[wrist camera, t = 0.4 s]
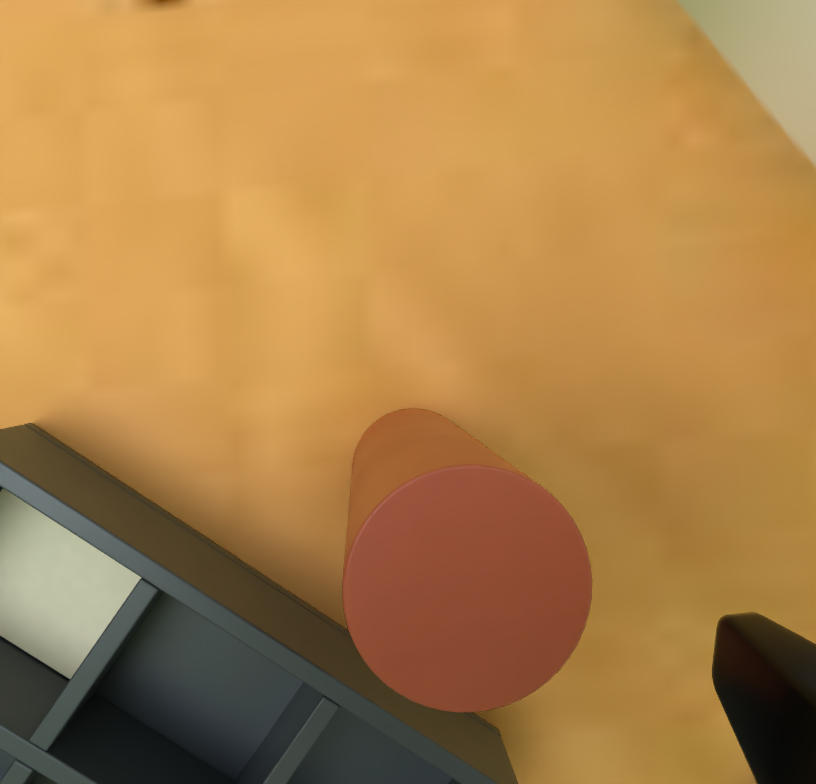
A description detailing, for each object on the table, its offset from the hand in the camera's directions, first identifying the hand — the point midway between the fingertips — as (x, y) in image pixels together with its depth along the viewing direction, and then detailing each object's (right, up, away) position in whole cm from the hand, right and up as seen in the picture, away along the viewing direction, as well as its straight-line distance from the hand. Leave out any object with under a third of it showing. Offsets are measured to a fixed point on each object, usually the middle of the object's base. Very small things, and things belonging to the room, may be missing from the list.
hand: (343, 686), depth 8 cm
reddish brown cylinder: (+1, +1, +15) cm, 15 cm away
